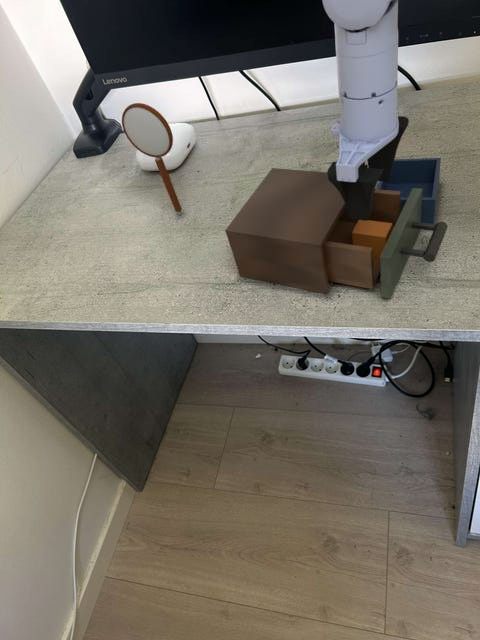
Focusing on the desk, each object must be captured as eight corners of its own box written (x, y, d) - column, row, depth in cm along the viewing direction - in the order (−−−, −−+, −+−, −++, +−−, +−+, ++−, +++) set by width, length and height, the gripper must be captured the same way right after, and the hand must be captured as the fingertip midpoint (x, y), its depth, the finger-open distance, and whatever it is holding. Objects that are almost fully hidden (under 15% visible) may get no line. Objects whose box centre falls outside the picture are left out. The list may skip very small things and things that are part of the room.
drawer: (452, 234, 65) (456, 191, 60) (424, 305, 59) (427, 264, 54) (334, 219, 73) (330, 180, 68) (298, 280, 66) (291, 242, 61)
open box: (384, 184, 77) (384, 159, 74) (438, 183, 74) (440, 157, 71) (375, 225, 71) (374, 199, 68) (433, 226, 68) (435, 199, 65)
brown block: (392, 246, 65) (392, 223, 62) (386, 261, 63) (385, 237, 61) (360, 242, 67) (359, 218, 64) (353, 255, 65) (351, 232, 63)
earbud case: (204, 140, 101) (196, 115, 97) (180, 176, 94) (170, 151, 90) (162, 142, 105) (153, 118, 101) (135, 177, 98) (125, 153, 94)
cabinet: (364, 225, 72) (361, 174, 66) (327, 294, 65) (320, 245, 58) (282, 214, 78) (272, 167, 72) (240, 276, 71) (224, 230, 65)
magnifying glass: (158, 215, 87) (110, 107, 72) (163, 209, 88) (117, 101, 73) (198, 220, 83) (156, 106, 69) (203, 213, 84) (163, 100, 69)
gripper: (353, 53, 54) (358, 161, 64) (302, 121, 47) (316, 231, 57) (418, 52, 51) (413, 165, 61) (374, 125, 44) (376, 240, 54)
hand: (370, 198), depth 59 cm, fingers open, 7 cm apart
